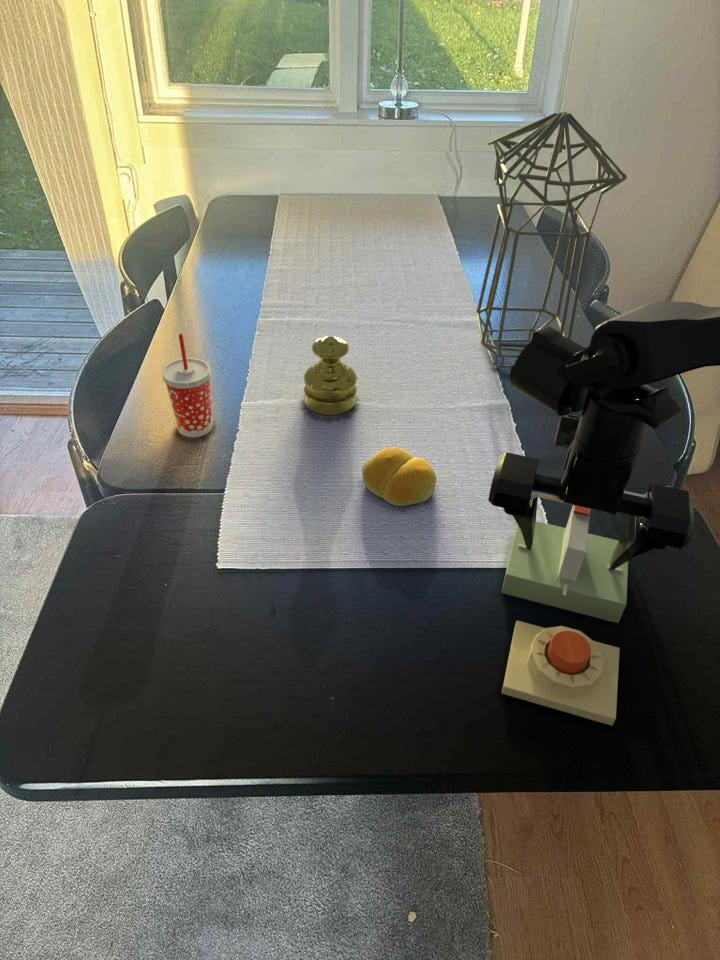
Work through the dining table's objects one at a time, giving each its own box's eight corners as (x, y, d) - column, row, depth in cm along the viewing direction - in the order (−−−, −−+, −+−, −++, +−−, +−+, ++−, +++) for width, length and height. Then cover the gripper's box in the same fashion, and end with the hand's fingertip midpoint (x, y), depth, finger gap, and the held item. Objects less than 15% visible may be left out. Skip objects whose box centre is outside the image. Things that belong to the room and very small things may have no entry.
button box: (616, 654, 68) (625, 636, 66) (612, 726, 63) (621, 708, 61) (514, 627, 70) (519, 608, 69) (501, 693, 65) (506, 675, 63)
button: (587, 647, 66) (592, 636, 65) (584, 679, 63) (589, 667, 62) (549, 637, 66) (553, 625, 65) (544, 667, 64) (548, 656, 63)
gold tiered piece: (309, 419, 96) (308, 356, 90) (300, 389, 102) (298, 328, 95) (361, 413, 98) (363, 350, 91) (349, 384, 103) (351, 323, 97)
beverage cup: (170, 416, 96) (153, 324, 87) (216, 411, 97) (204, 320, 88) (173, 443, 91) (155, 349, 82) (220, 437, 93) (208, 344, 83)
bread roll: (410, 518, 82) (413, 493, 79) (351, 485, 86) (352, 460, 83) (449, 483, 87) (453, 458, 84) (392, 453, 91) (393, 429, 88)
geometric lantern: (554, 332, 117) (609, 99, 94) (575, 385, 105) (644, 132, 82) (460, 329, 116) (492, 95, 94) (470, 381, 105) (509, 127, 82)
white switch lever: (575, 582, 71) (586, 550, 68) (557, 577, 72) (567, 545, 69) (580, 539, 76) (591, 507, 73) (563, 535, 76) (573, 503, 73)
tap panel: (622, 556, 78) (630, 536, 76) (617, 630, 71) (626, 610, 69) (515, 530, 81) (520, 510, 79) (499, 599, 73) (504, 579, 71)
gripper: (712, 411, 67) (661, 526, 77) (518, 374, 71) (494, 488, 82) (719, 483, 59) (662, 601, 69) (500, 437, 63) (476, 555, 73)
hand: (569, 556), depth 74 cm, fingers open, 8 cm apart
